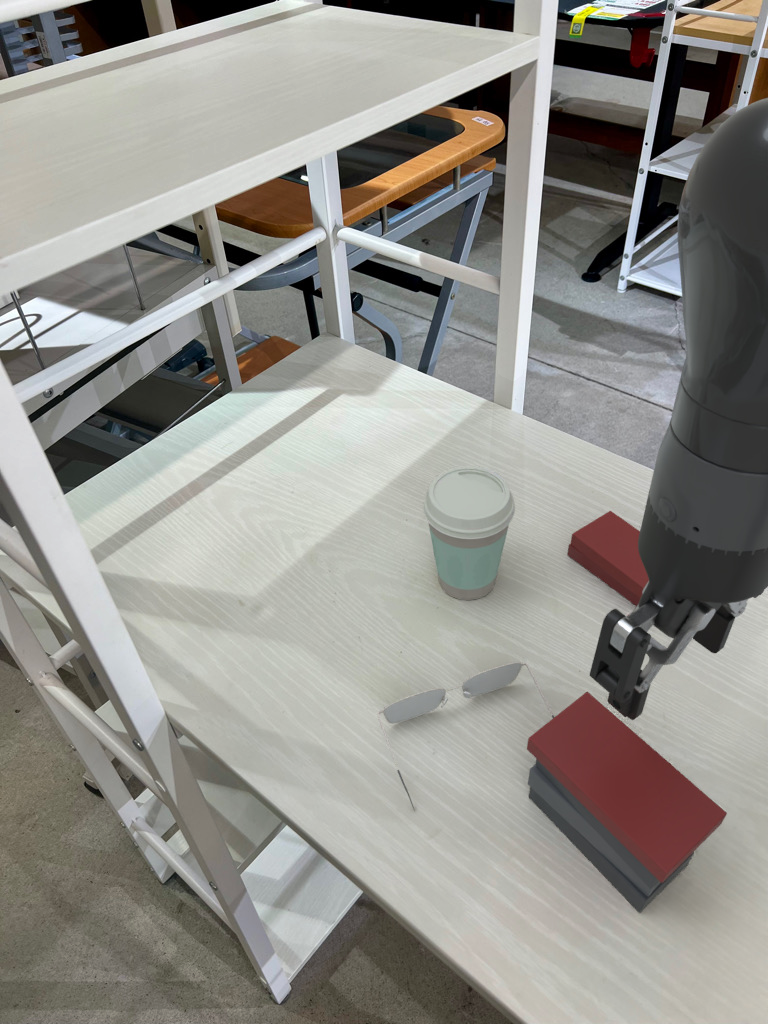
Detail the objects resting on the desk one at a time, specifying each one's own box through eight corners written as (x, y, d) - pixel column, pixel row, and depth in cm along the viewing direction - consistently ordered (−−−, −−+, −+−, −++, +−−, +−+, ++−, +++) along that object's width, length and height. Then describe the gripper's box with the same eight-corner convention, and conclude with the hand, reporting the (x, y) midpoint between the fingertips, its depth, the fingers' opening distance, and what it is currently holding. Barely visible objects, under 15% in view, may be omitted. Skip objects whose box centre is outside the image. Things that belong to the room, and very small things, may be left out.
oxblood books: (697, 594, 73) (704, 572, 71) (657, 625, 71) (664, 603, 69) (603, 530, 80) (608, 508, 78) (565, 556, 78) (568, 534, 76)
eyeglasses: (523, 679, 67) (528, 655, 64) (566, 759, 62) (573, 737, 59) (377, 728, 65) (375, 706, 62) (409, 816, 59) (409, 797, 56)
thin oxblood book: (721, 823, 50) (727, 813, 49) (661, 884, 47) (666, 874, 46) (584, 702, 57) (587, 690, 56) (526, 749, 55) (528, 737, 54)
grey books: (692, 864, 55) (716, 821, 50) (639, 918, 52) (658, 878, 48) (574, 752, 62) (585, 705, 57) (522, 795, 59) (529, 749, 55)
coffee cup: (523, 596, 74) (532, 508, 66) (444, 621, 73) (444, 534, 65) (487, 540, 80) (491, 453, 72) (413, 562, 79) (409, 475, 71)
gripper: (697, 603, 35) (640, 774, 46) (864, 476, 41) (778, 656, 52) (577, 519, 40) (552, 693, 51) (742, 416, 45) (687, 593, 56)
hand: (666, 674), depth 51 cm, fingers open, 8 cm apart
